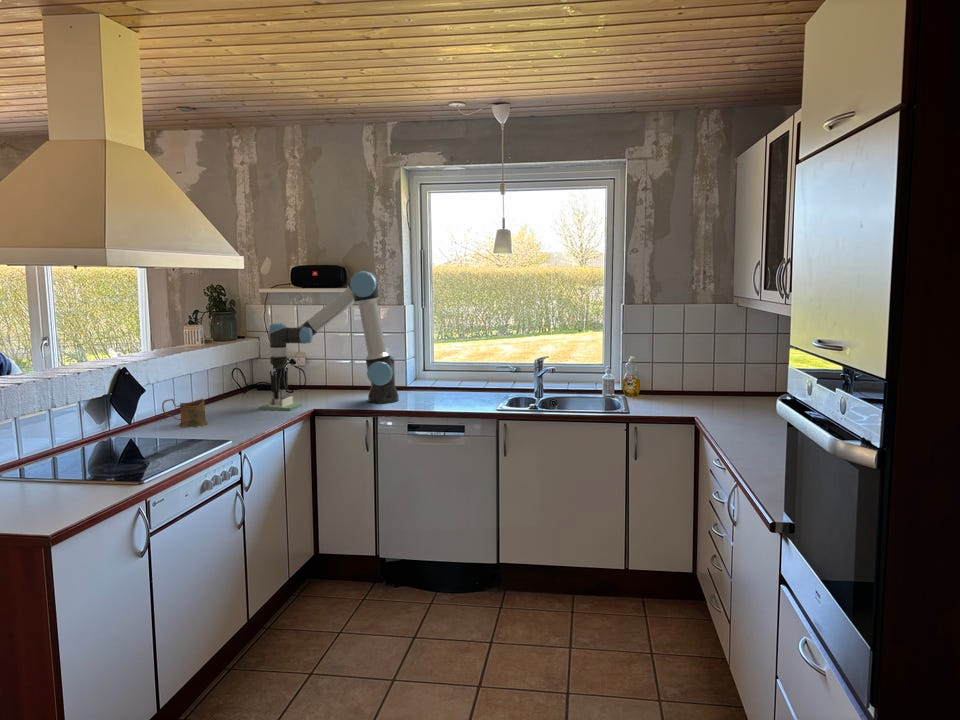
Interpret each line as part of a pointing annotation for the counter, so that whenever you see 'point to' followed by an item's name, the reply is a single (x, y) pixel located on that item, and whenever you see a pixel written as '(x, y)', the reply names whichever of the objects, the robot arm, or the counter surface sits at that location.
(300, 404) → the board
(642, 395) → the counter surface
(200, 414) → the mug
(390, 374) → the robot arm
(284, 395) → the plug
